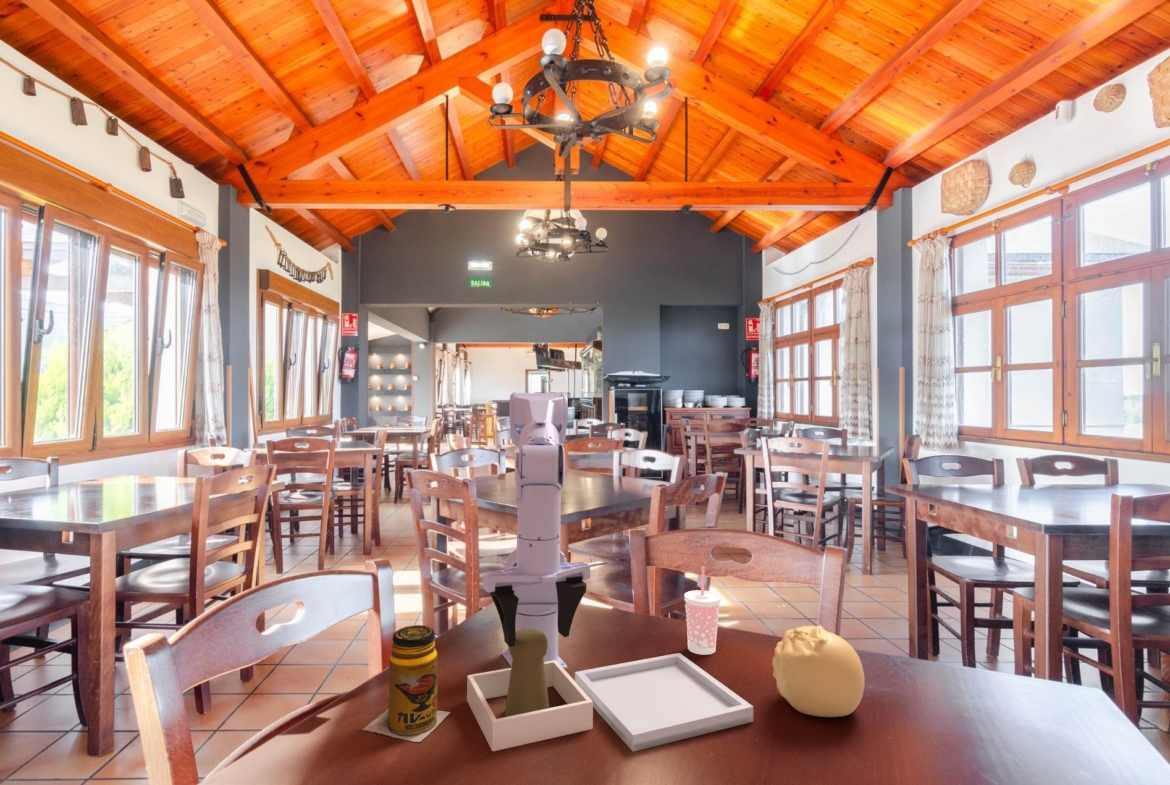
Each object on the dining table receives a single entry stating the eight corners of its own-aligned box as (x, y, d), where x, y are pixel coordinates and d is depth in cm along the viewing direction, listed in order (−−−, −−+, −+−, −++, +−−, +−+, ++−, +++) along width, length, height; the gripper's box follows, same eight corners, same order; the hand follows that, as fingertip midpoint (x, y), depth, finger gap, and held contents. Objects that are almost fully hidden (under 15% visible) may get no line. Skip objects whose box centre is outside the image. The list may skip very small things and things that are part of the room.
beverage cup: (712, 659, 101) (713, 573, 101) (677, 650, 104) (678, 567, 104) (725, 647, 106) (726, 565, 106) (691, 638, 109) (692, 559, 109)
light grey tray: (574, 685, 91) (574, 672, 91) (679, 665, 99) (679, 652, 99) (632, 751, 75) (633, 735, 75) (753, 721, 82) (753, 706, 82)
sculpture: (773, 680, 94) (774, 609, 94) (860, 695, 90) (861, 620, 90) (769, 718, 83) (771, 637, 83) (867, 736, 79) (869, 651, 79)
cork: (543, 729, 80) (544, 643, 79) (498, 723, 81) (499, 638, 81) (554, 705, 85) (556, 625, 85) (512, 700, 87) (513, 621, 87)
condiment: (420, 743, 76) (421, 645, 76) (361, 731, 78) (363, 636, 78) (450, 714, 83) (452, 624, 83) (395, 703, 85) (397, 616, 85)
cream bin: (466, 700, 86) (467, 675, 86) (555, 683, 92) (555, 660, 92) (492, 751, 74) (492, 722, 74) (592, 728, 80) (593, 701, 80)
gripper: (495, 547, 75) (494, 660, 75) (601, 537, 82) (599, 640, 82) (478, 535, 82) (476, 639, 81) (577, 526, 88) (576, 622, 88)
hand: (537, 638), depth 82 cm, fingers open, 7 cm apart
